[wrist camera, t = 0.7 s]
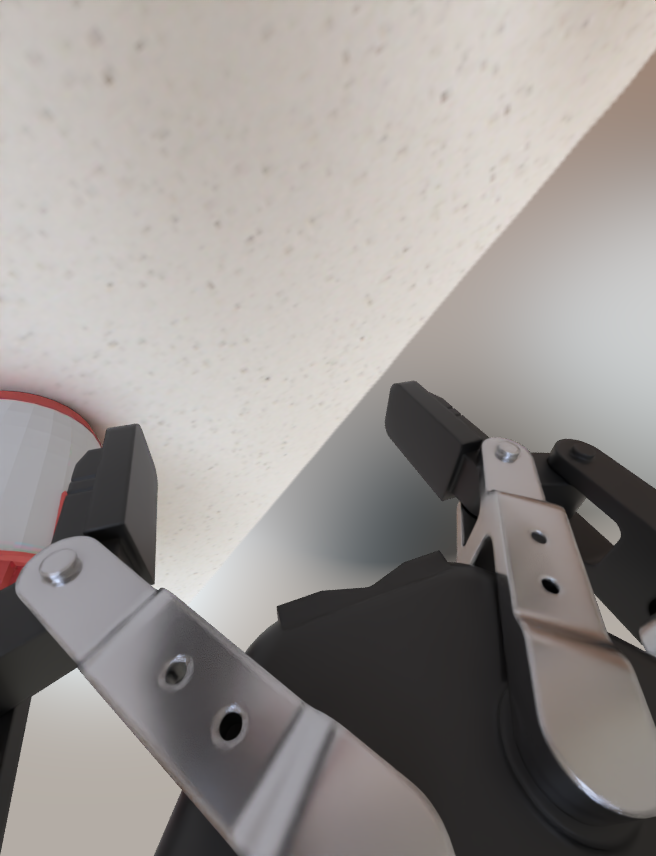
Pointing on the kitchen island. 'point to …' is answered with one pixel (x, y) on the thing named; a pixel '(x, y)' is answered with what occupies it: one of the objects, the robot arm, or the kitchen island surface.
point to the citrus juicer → (35, 473)
